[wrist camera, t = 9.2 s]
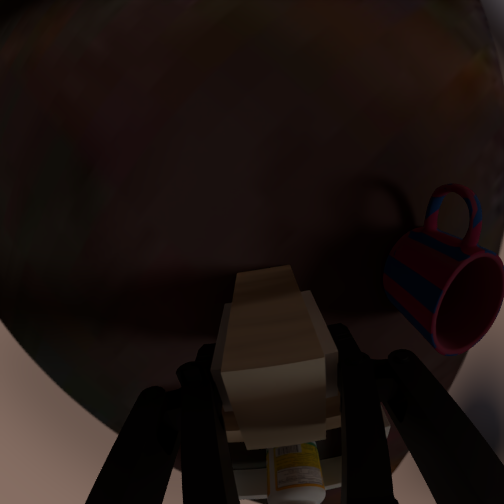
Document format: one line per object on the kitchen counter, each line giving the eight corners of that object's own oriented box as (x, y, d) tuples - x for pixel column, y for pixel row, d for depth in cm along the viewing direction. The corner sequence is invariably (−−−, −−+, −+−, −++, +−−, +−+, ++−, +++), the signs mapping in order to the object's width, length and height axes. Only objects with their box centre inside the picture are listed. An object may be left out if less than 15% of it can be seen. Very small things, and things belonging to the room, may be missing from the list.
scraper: (176, 282, 18) (114, 374, 9) (351, 254, 18) (432, 328, 8) (213, 399, 21) (198, 496, 12) (351, 378, 21) (389, 470, 11)
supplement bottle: (286, 428, 22) (295, 511, 13) (326, 440, 23) (343, 513, 14) (255, 452, 24) (255, 526, 14) (294, 462, 24) (302, 530, 15)
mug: (375, 313, 19) (417, 365, 12) (389, 177, 16) (452, 181, 10) (441, 306, 19) (488, 345, 12) (458, 186, 16) (520, 196, 10)
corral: (195, 423, 22) (188, 455, 18) (376, 396, 21) (390, 425, 18) (223, 474, 25) (220, 499, 21) (365, 453, 24) (373, 477, 20)
